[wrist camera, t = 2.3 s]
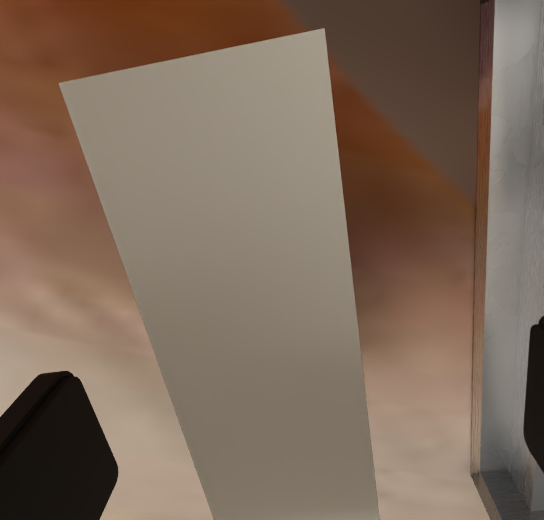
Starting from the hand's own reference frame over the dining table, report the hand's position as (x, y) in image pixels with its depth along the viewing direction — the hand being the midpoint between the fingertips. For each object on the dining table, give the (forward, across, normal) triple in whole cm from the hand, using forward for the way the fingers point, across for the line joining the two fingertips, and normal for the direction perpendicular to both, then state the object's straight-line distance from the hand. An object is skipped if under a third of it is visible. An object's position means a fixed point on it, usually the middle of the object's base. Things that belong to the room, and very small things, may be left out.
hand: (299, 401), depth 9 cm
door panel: (+8, 0, -1) cm, 8 cm away
